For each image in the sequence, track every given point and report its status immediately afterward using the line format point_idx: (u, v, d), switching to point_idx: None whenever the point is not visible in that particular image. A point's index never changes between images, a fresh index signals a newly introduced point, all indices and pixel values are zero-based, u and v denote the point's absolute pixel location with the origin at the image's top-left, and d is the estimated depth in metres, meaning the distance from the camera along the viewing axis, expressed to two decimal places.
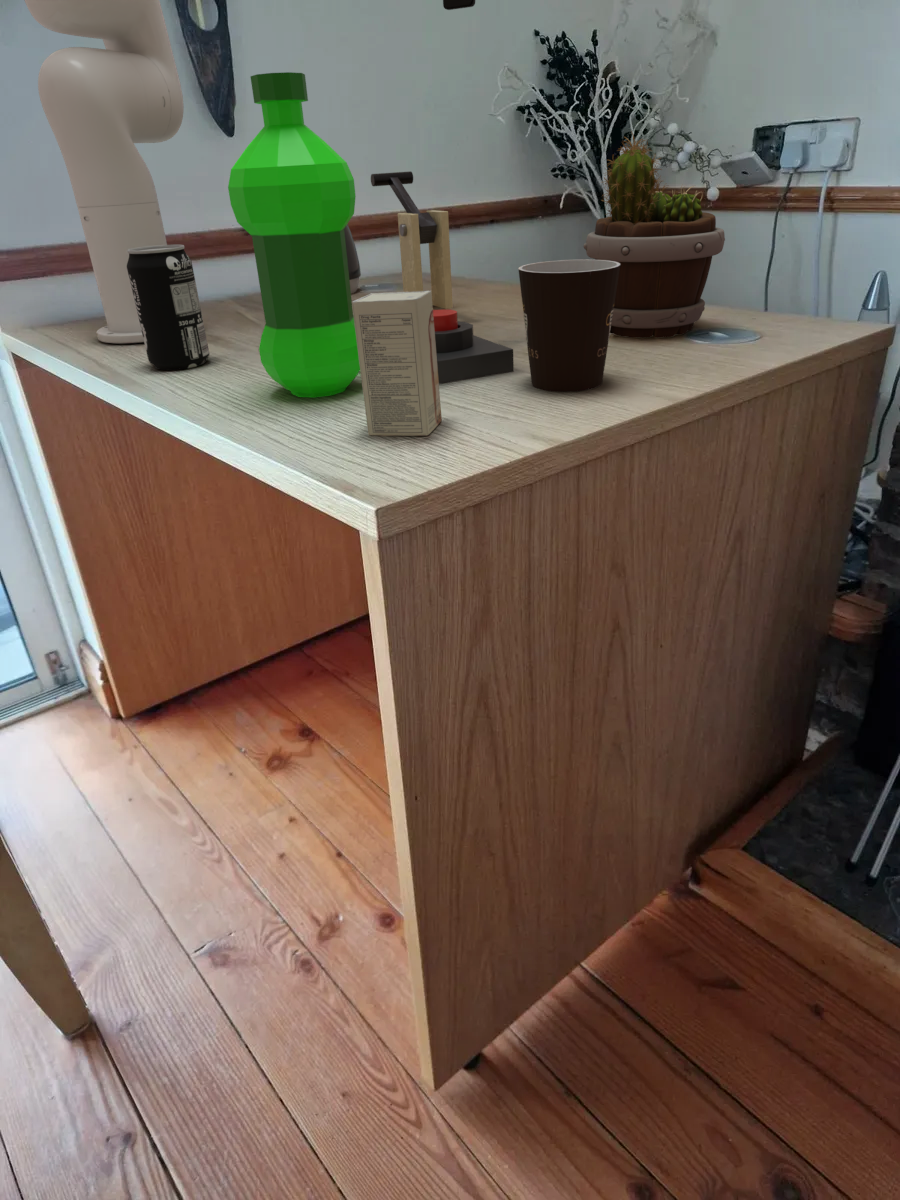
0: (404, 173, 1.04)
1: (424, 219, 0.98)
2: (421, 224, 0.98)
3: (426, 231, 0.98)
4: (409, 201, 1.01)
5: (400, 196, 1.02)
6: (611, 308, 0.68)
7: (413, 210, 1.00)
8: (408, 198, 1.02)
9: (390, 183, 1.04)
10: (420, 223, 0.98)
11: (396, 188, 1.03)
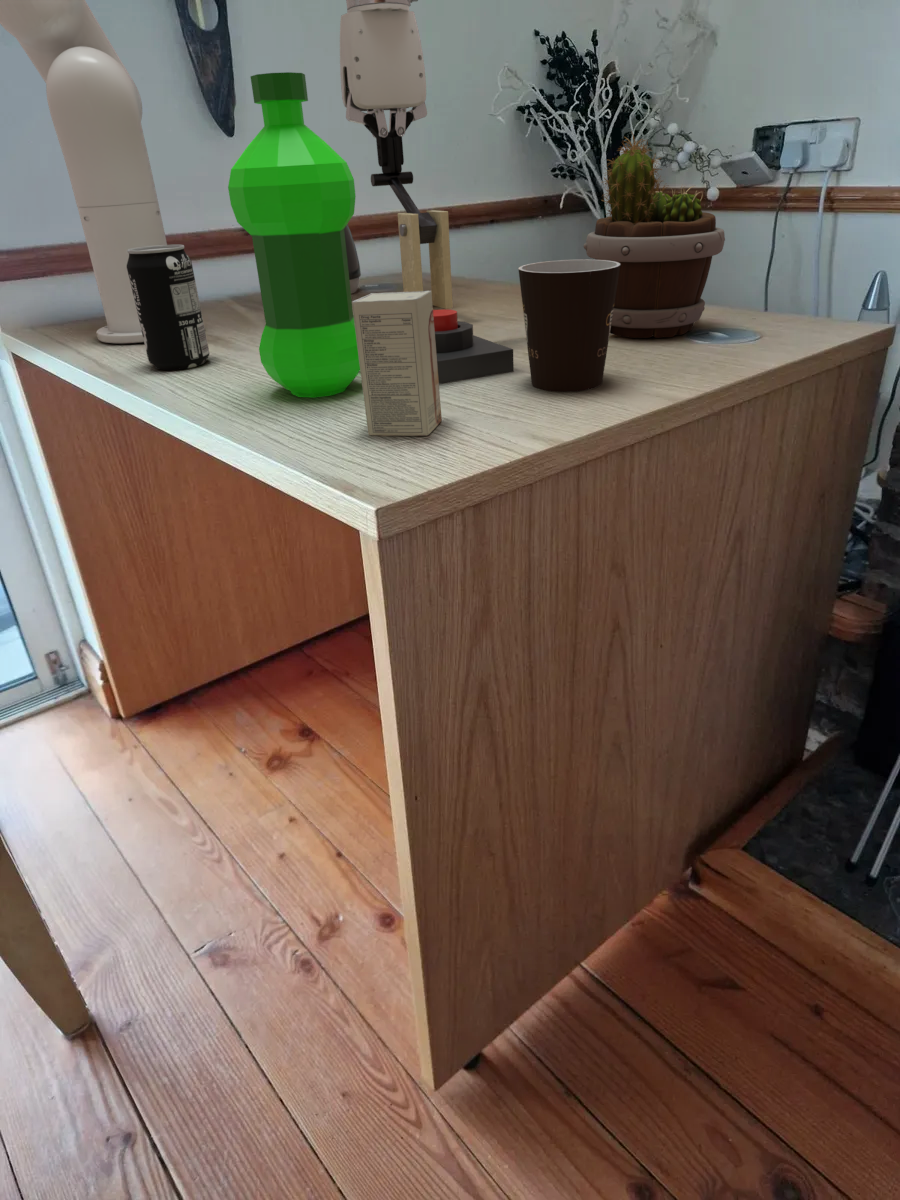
0: (404, 173, 1.04)
1: (424, 219, 0.98)
2: (421, 224, 0.98)
3: (426, 231, 0.98)
4: (409, 201, 1.01)
5: (400, 196, 1.02)
6: (611, 308, 0.68)
7: (413, 210, 1.00)
8: (408, 198, 1.02)
9: (390, 183, 1.04)
10: (420, 223, 0.98)
11: (396, 188, 1.03)
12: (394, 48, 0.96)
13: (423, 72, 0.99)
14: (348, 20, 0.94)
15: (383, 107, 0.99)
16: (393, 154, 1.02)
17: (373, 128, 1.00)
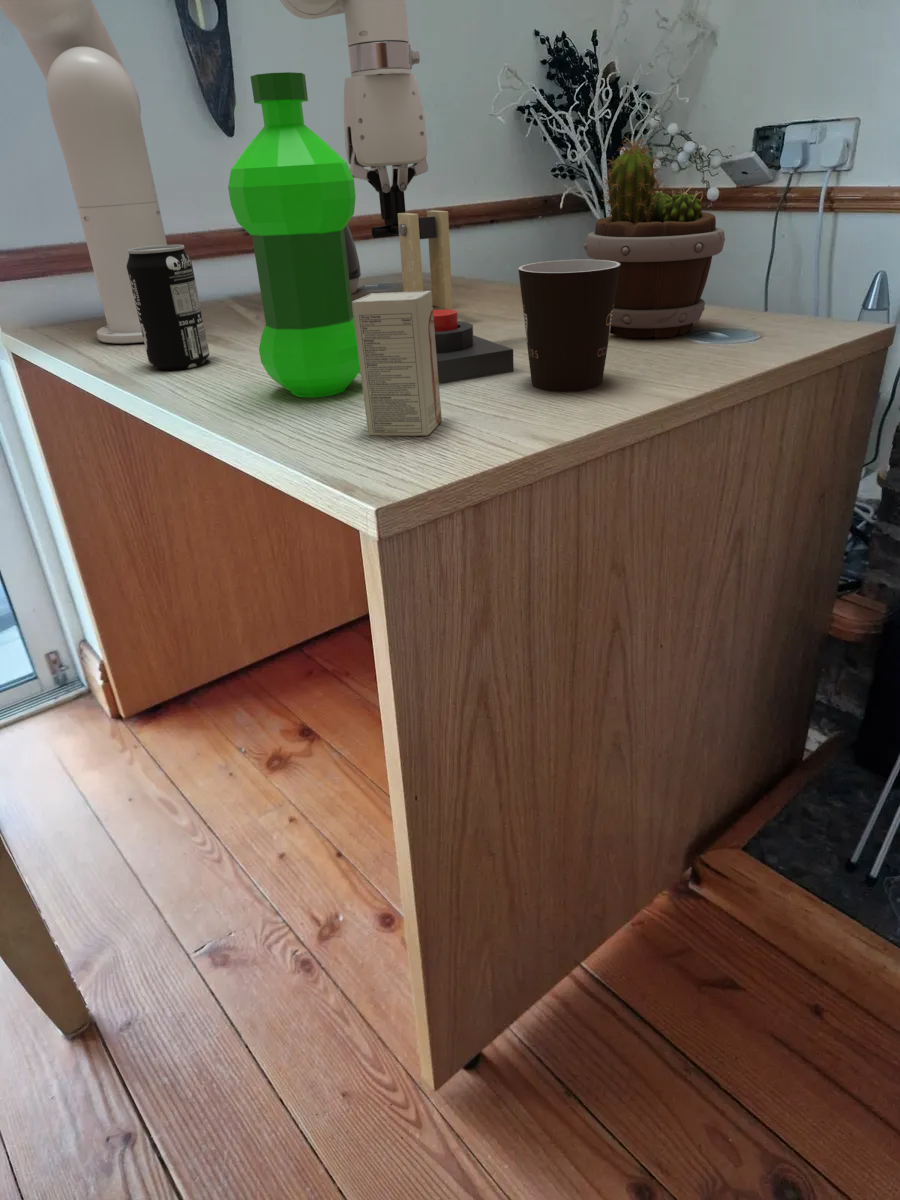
0: None
1: None
2: None
3: (425, 223, 0.98)
4: None
5: None
6: (611, 308, 0.68)
7: None
8: None
9: (390, 231, 1.08)
10: (418, 218, 0.98)
11: (395, 227, 1.06)
12: (396, 109, 1.00)
13: (424, 131, 1.03)
14: (352, 84, 0.98)
15: (386, 164, 1.03)
16: (395, 208, 1.06)
17: (376, 184, 1.04)
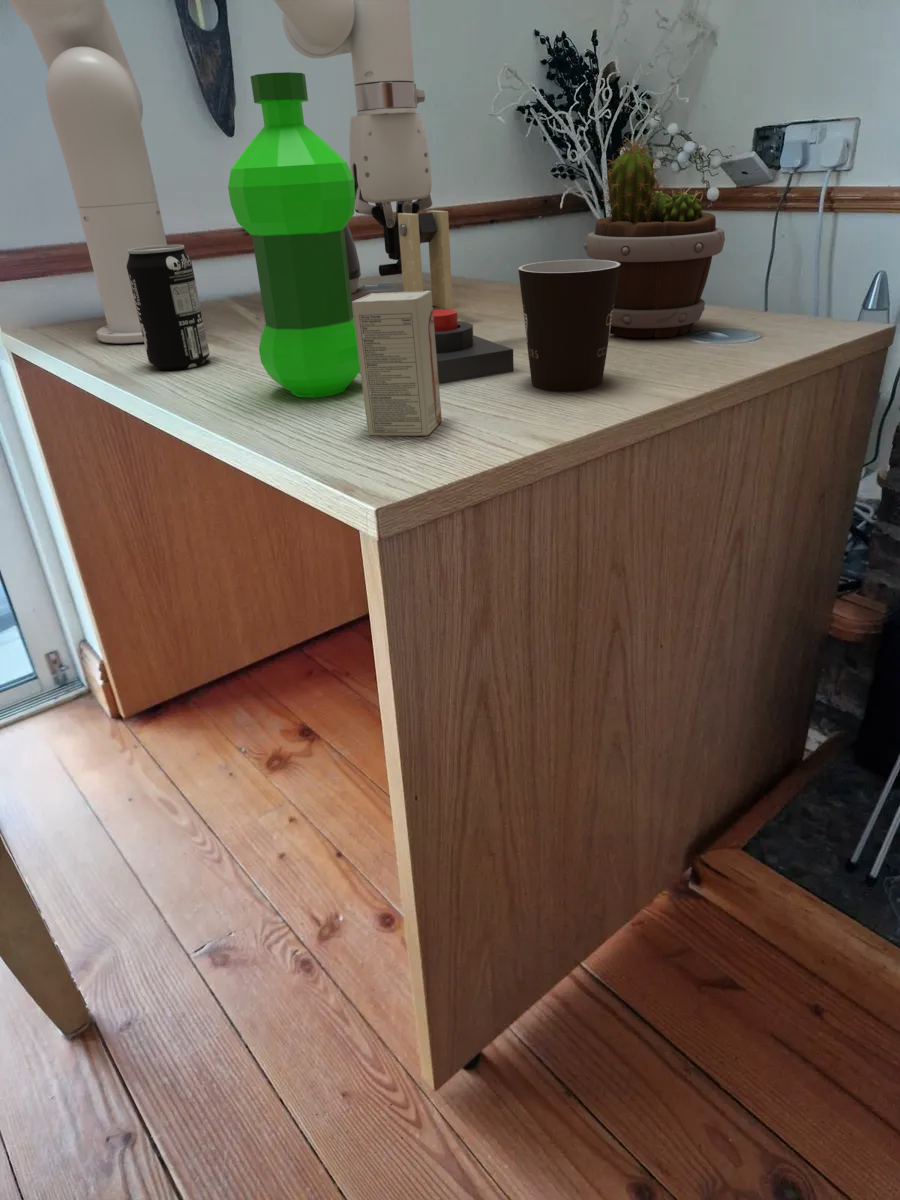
0: None
1: None
2: None
3: (424, 218, 0.98)
4: None
5: None
6: (611, 308, 0.68)
7: None
8: None
9: (397, 266, 1.09)
10: None
11: (400, 256, 1.07)
12: (401, 147, 1.01)
13: (429, 168, 1.04)
14: (358, 122, 0.99)
15: (390, 200, 1.04)
16: (399, 243, 1.07)
17: (381, 219, 1.05)
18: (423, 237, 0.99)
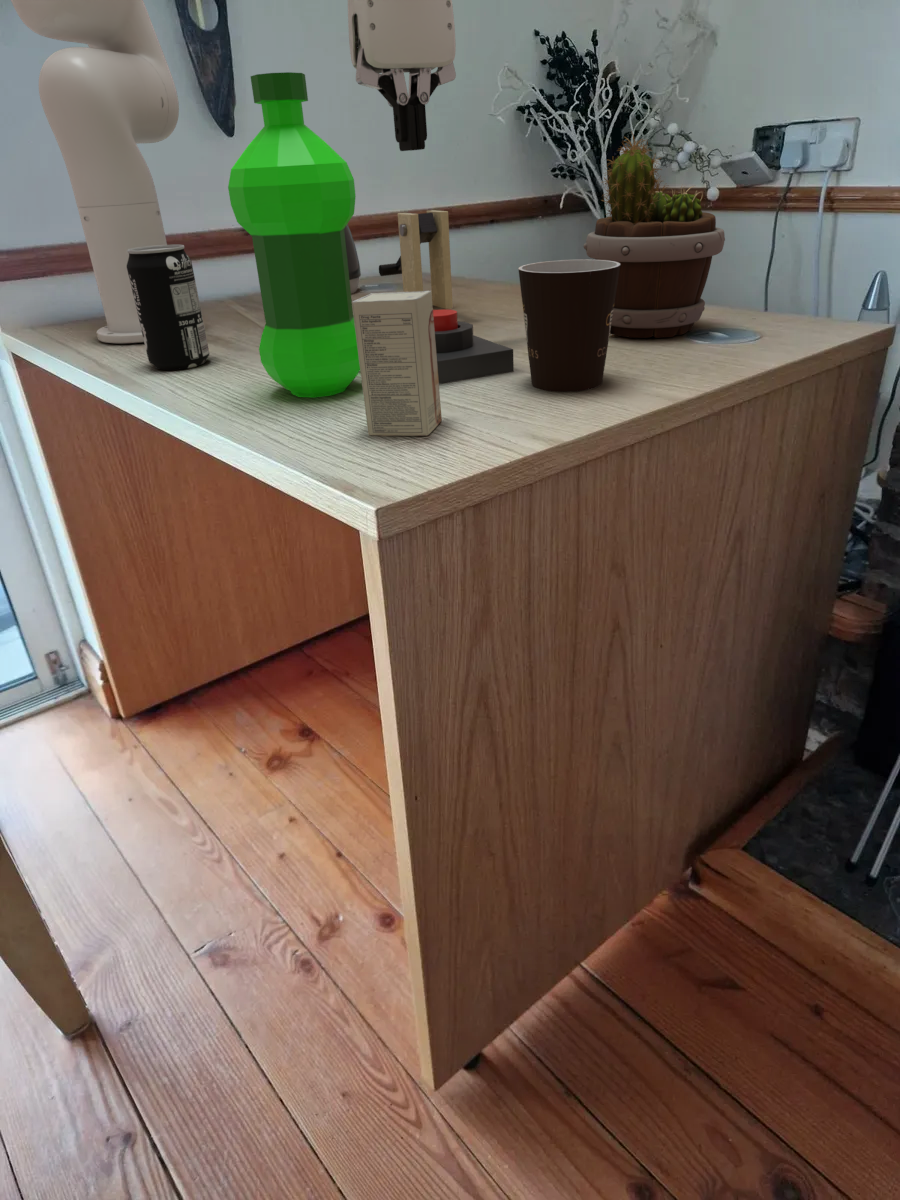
0: None
1: None
2: None
3: (424, 218, 0.98)
4: None
5: None
6: (611, 308, 0.68)
7: None
8: None
9: (397, 266, 1.09)
10: None
11: (400, 256, 1.07)
12: None
13: (452, 22, 0.79)
14: None
15: (403, 66, 0.79)
16: (415, 126, 0.82)
17: (390, 93, 0.80)
18: (423, 237, 0.99)
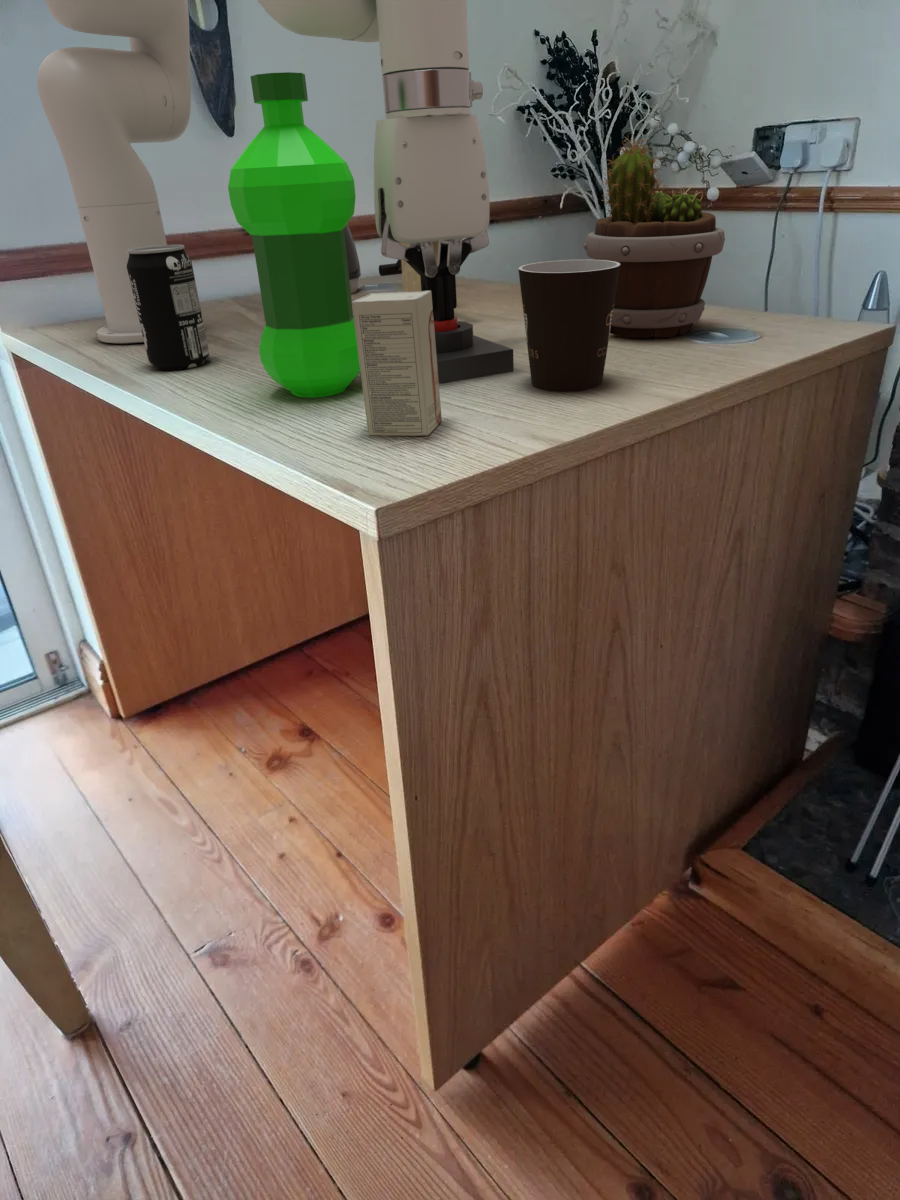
0: None
1: None
2: None
3: None
4: None
5: None
6: (611, 308, 0.68)
7: None
8: None
9: (397, 266, 1.09)
10: None
11: None
12: (449, 164, 0.70)
13: (487, 193, 0.73)
14: (387, 129, 0.68)
15: (432, 240, 0.73)
16: (444, 298, 0.76)
17: (418, 266, 0.74)
18: None
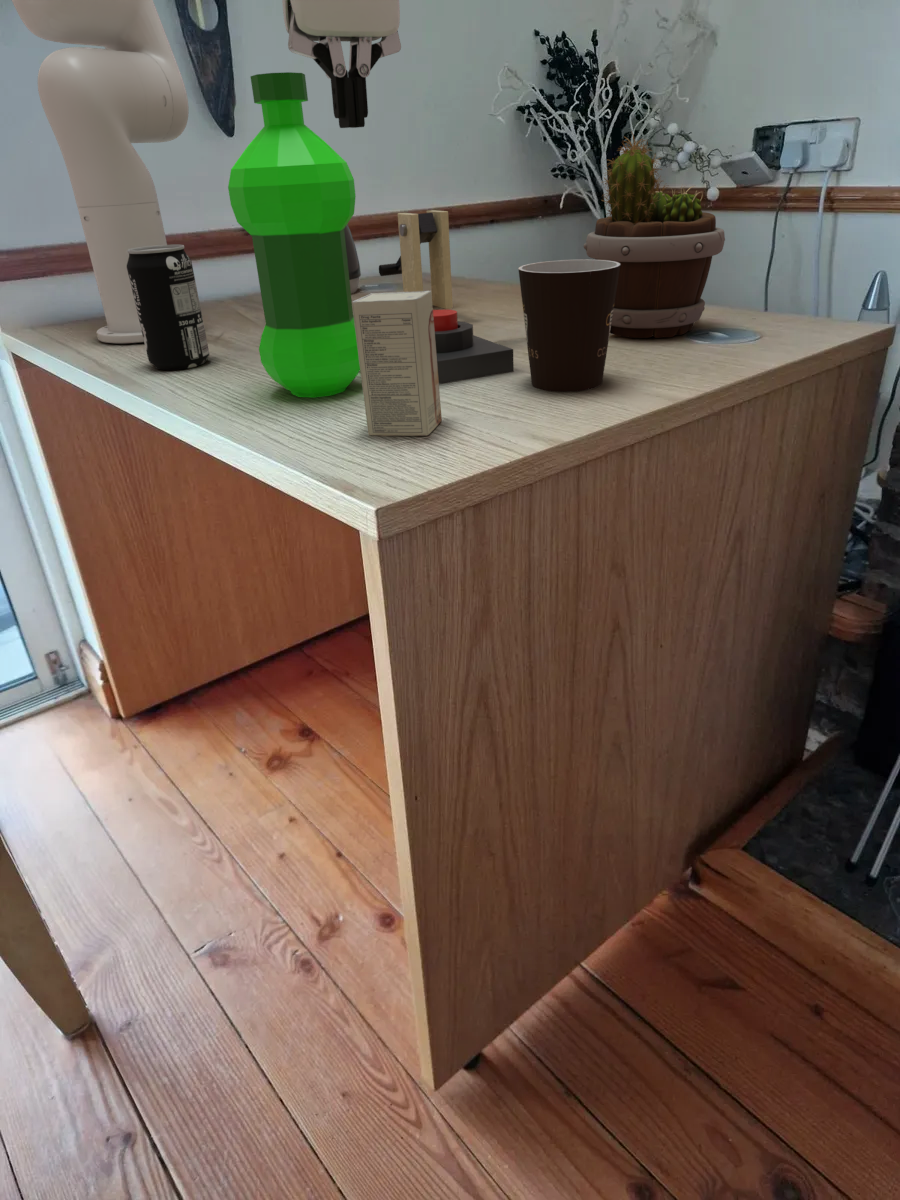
0: None
1: None
2: None
3: (424, 218, 0.98)
4: None
5: None
6: (611, 308, 0.68)
7: None
8: None
9: (397, 266, 1.09)
10: None
11: (400, 256, 1.07)
12: None
13: None
14: None
15: (339, 34, 0.72)
16: (353, 101, 0.75)
17: (326, 64, 0.73)
18: (423, 237, 0.99)
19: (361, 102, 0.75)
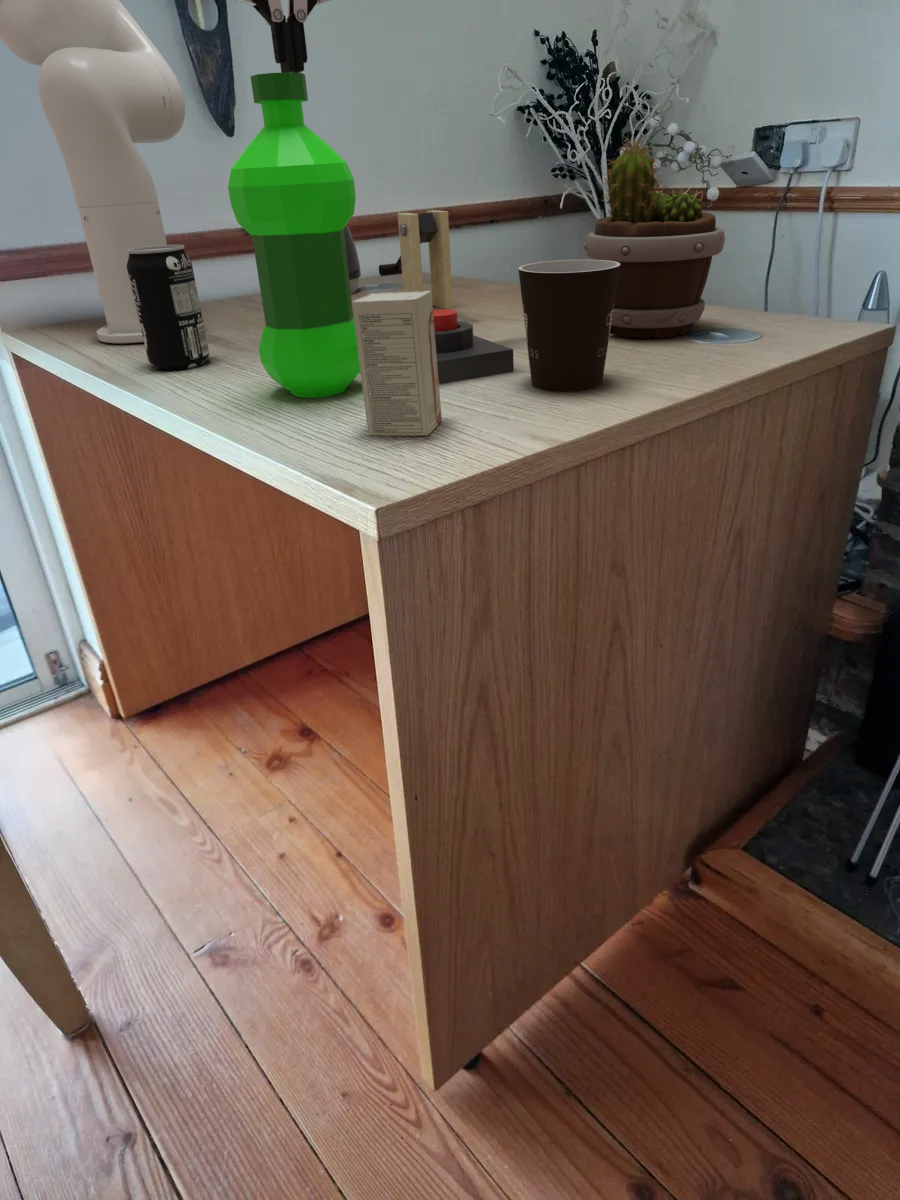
0: None
1: None
2: None
3: (424, 218, 0.98)
4: None
5: None
6: (611, 308, 0.68)
7: None
8: None
9: (397, 266, 1.09)
10: None
11: (400, 256, 1.07)
12: None
13: None
14: None
15: None
16: (292, 45, 0.79)
17: (264, 9, 0.77)
18: (423, 237, 0.99)
19: (299, 46, 0.79)
